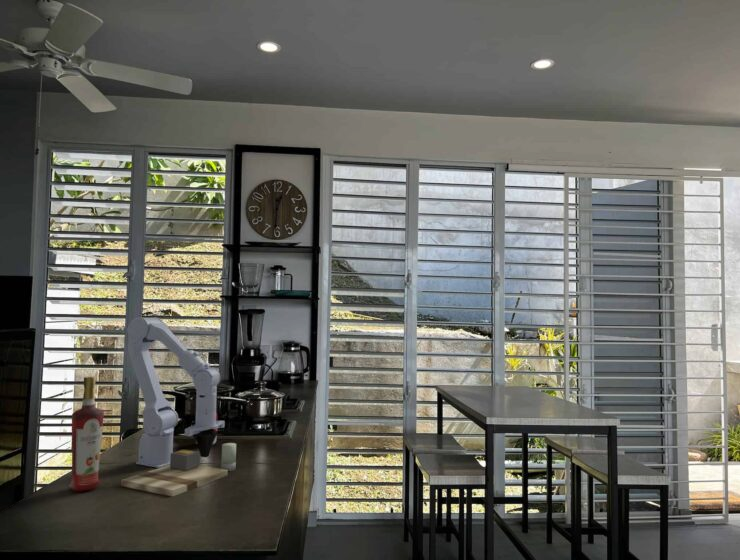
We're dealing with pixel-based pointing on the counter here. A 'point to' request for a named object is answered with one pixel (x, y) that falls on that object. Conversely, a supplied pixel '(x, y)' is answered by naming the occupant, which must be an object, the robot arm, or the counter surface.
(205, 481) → the wooden cutting board
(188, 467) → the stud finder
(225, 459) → the green grey capped cylinder
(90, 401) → the liquor
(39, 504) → the counter surface
